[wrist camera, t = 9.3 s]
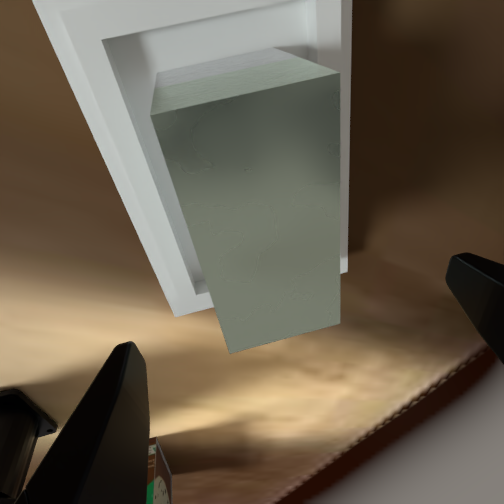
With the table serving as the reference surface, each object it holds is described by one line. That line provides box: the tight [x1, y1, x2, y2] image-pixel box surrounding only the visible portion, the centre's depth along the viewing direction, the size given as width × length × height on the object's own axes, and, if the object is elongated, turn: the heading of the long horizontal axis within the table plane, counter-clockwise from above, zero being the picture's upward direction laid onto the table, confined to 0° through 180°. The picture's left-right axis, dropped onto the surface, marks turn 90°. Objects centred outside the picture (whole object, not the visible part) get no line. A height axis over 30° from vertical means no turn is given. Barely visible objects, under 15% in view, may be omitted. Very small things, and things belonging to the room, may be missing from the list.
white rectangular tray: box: [32, 0, 352, 317], centre depth 17 cm, size 18×12×3 cm, turn 9°
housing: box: [150, 48, 340, 354], centre depth 14 cm, size 5×10×7 cm, turn 9°
